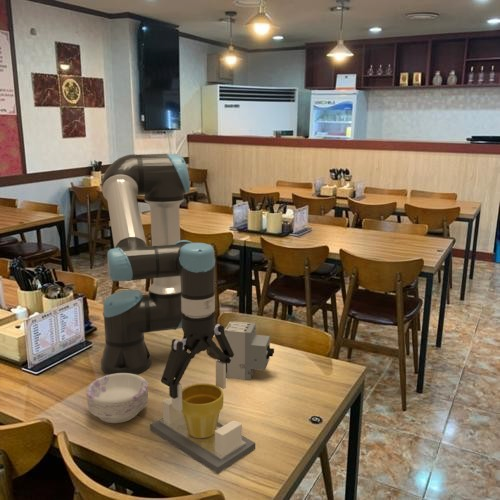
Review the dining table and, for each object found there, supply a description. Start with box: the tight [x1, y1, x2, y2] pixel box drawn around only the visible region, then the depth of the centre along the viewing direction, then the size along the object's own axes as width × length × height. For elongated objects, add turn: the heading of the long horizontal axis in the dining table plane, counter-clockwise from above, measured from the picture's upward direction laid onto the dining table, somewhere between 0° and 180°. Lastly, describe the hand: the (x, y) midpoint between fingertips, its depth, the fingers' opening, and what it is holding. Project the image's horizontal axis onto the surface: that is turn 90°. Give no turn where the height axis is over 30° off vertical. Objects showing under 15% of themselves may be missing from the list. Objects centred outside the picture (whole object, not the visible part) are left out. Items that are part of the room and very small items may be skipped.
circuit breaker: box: [224, 321, 275, 381], centre depth 152 cm, size 8×14×15 cm, turn 78°
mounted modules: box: [162, 397, 243, 455], centre depth 121 cm, size 21×6×5 cm, turn 47°
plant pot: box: [181, 382, 224, 438], centre depth 121 cm, size 10×10×10 cm
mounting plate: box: [149, 417, 256, 474], centre depth 122 cm, size 24×12×2 cm, turn 47°
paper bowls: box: [86, 373, 149, 424], centre depth 132 cm, size 15×15×8 cm
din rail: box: [158, 416, 246, 461], centre depth 122 cm, size 22×8×1 cm, turn 47°
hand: (199, 397), depth 120 cm, fingers open, 13 cm apart
